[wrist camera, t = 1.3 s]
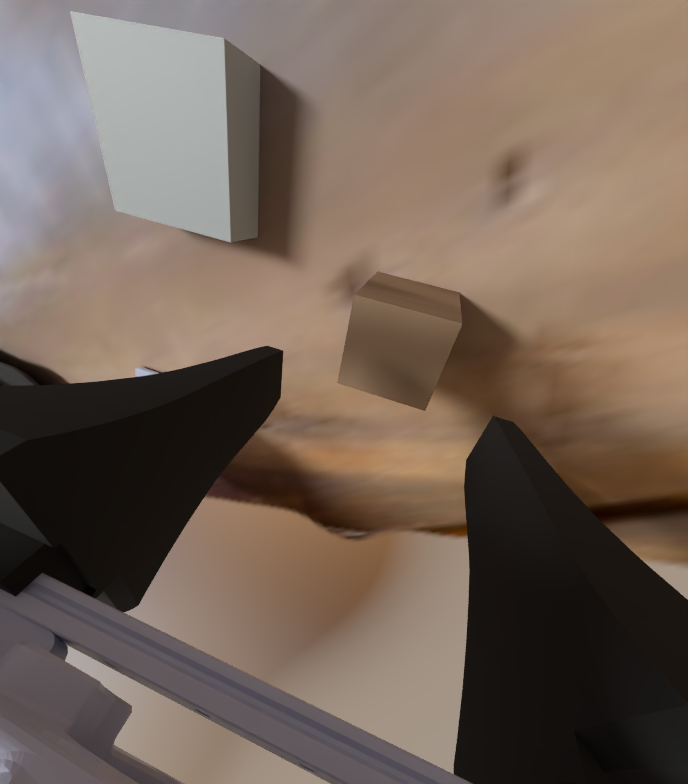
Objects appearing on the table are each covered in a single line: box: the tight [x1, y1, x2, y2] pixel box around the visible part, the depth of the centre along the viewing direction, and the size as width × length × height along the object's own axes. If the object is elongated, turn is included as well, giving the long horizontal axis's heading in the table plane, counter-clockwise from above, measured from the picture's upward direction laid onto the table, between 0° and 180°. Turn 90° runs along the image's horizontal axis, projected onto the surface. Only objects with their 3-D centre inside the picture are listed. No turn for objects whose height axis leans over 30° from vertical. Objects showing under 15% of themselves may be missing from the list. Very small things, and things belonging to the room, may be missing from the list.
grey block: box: [70, 11, 260, 242], centre depth 15 cm, size 7×7×3 cm
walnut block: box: [338, 272, 463, 411], centre depth 15 cm, size 4×4×5 cm
